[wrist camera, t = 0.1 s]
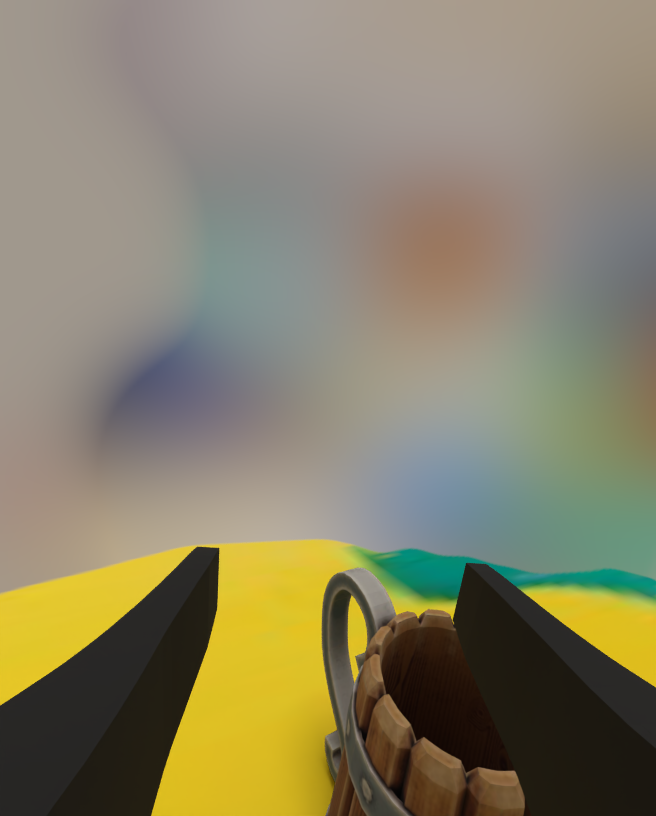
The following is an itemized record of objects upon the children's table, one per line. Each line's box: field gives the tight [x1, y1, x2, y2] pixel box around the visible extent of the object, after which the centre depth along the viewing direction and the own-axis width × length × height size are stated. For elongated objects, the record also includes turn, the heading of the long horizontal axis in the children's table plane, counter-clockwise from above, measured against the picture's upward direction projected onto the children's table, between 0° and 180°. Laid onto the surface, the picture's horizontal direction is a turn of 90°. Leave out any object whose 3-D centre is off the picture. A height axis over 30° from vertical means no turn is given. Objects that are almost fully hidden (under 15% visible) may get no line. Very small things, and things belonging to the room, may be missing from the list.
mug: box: [322, 568, 531, 816], centre depth 19 cm, size 16×11×15 cm
